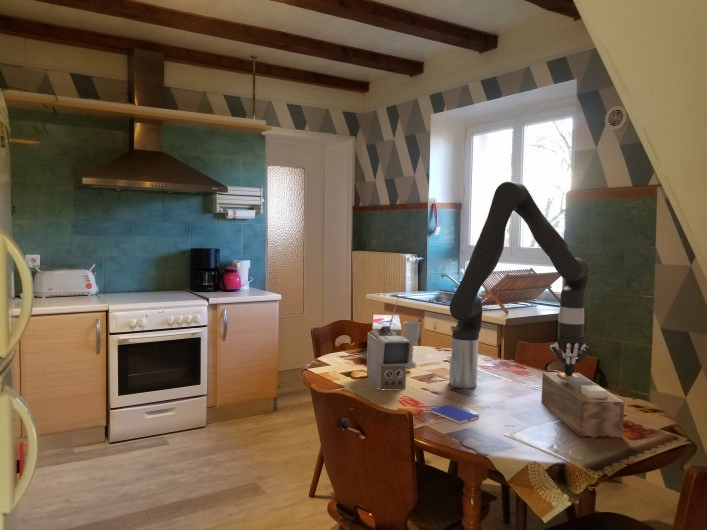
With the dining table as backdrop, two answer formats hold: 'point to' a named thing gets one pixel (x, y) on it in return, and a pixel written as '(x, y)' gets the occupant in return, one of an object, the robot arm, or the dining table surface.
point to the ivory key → (593, 391)
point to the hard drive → (454, 414)
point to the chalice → (412, 338)
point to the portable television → (387, 358)
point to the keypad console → (582, 408)
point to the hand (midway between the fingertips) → (568, 374)
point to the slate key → (579, 382)
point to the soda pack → (387, 323)
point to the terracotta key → (565, 376)
